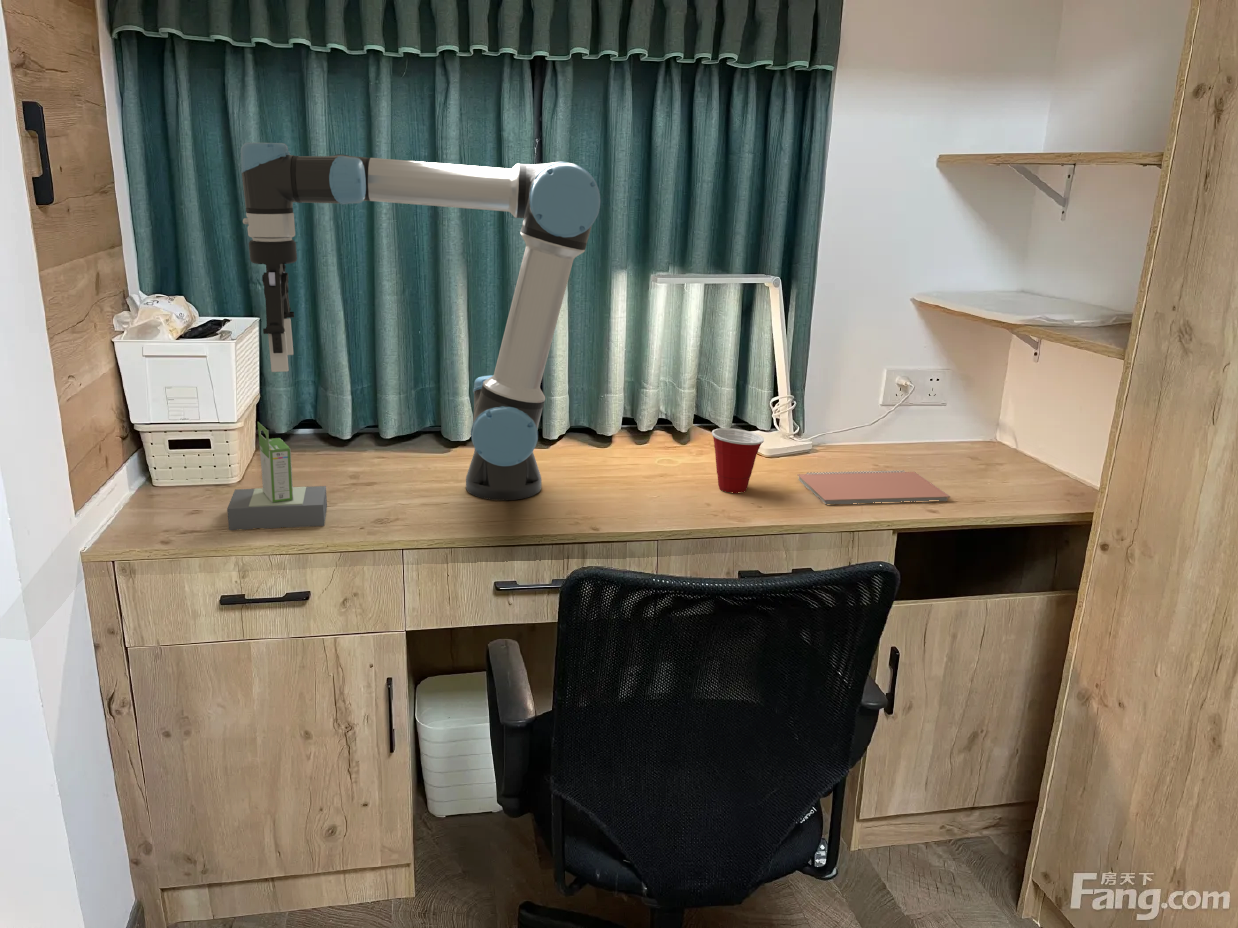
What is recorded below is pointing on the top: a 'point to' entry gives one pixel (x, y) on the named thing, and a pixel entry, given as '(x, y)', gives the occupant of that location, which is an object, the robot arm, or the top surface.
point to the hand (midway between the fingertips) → (283, 362)
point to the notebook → (871, 487)
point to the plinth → (277, 509)
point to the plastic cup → (735, 457)
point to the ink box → (275, 467)
